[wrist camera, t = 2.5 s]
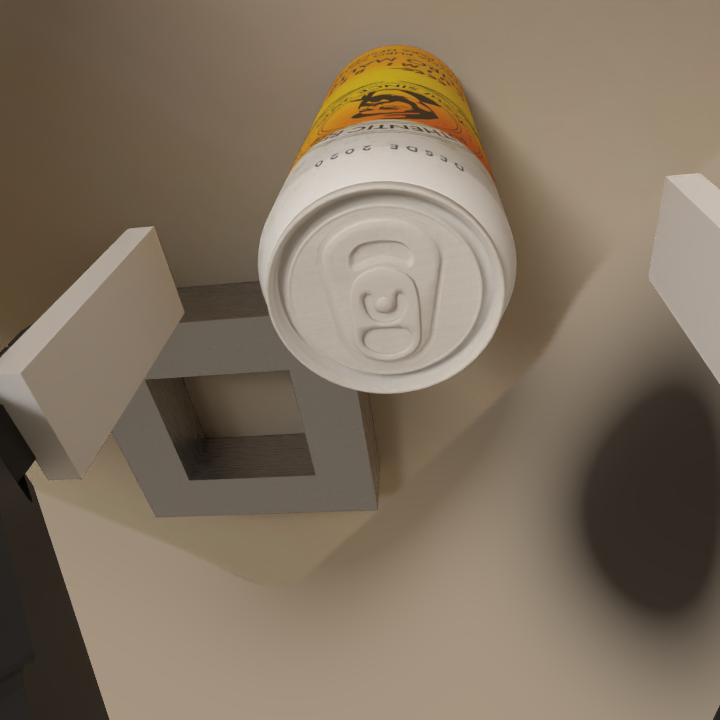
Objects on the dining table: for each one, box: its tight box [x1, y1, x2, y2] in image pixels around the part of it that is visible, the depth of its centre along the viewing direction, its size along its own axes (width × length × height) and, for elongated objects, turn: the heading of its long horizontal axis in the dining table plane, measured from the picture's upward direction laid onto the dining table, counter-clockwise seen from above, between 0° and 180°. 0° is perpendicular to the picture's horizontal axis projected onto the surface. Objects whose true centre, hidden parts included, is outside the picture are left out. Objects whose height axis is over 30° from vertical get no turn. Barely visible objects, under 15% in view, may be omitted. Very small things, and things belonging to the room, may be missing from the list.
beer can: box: [258, 45, 517, 394], centre depth 19 cm, size 6×6×15 cm
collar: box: [112, 281, 380, 517], centre depth 33 cm, size 14×14×4 cm
